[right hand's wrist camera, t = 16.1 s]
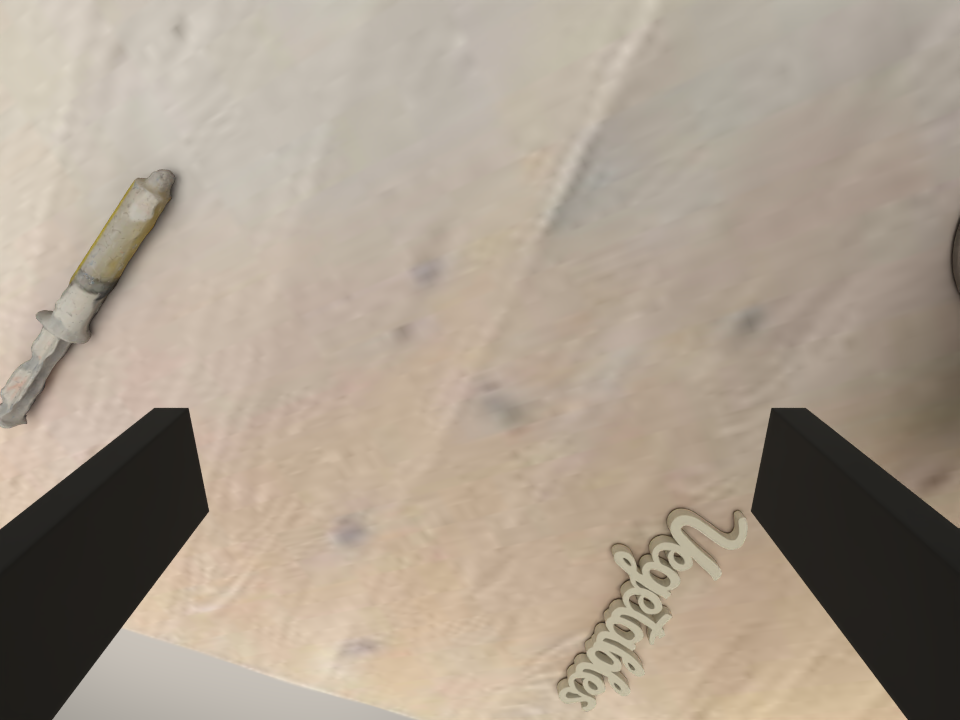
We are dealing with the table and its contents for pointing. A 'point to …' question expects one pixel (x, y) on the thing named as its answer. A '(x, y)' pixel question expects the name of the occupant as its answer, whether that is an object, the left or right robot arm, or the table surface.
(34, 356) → the syringe
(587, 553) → the table surface
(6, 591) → the right robot arm
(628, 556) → the decorative sign
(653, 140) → the table surface
